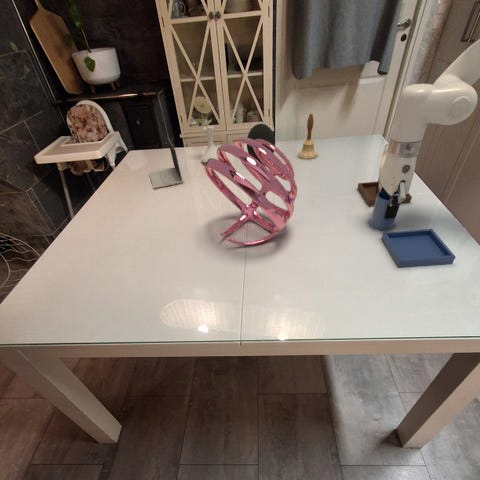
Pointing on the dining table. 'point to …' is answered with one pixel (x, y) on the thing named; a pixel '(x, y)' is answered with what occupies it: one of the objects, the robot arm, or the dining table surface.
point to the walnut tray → (368, 193)
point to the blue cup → (382, 211)
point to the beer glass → (381, 168)
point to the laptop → (167, 173)
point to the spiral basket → (258, 196)
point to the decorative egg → (260, 133)
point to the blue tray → (417, 248)
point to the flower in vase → (206, 128)
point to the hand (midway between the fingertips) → (385, 210)
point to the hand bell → (308, 142)
